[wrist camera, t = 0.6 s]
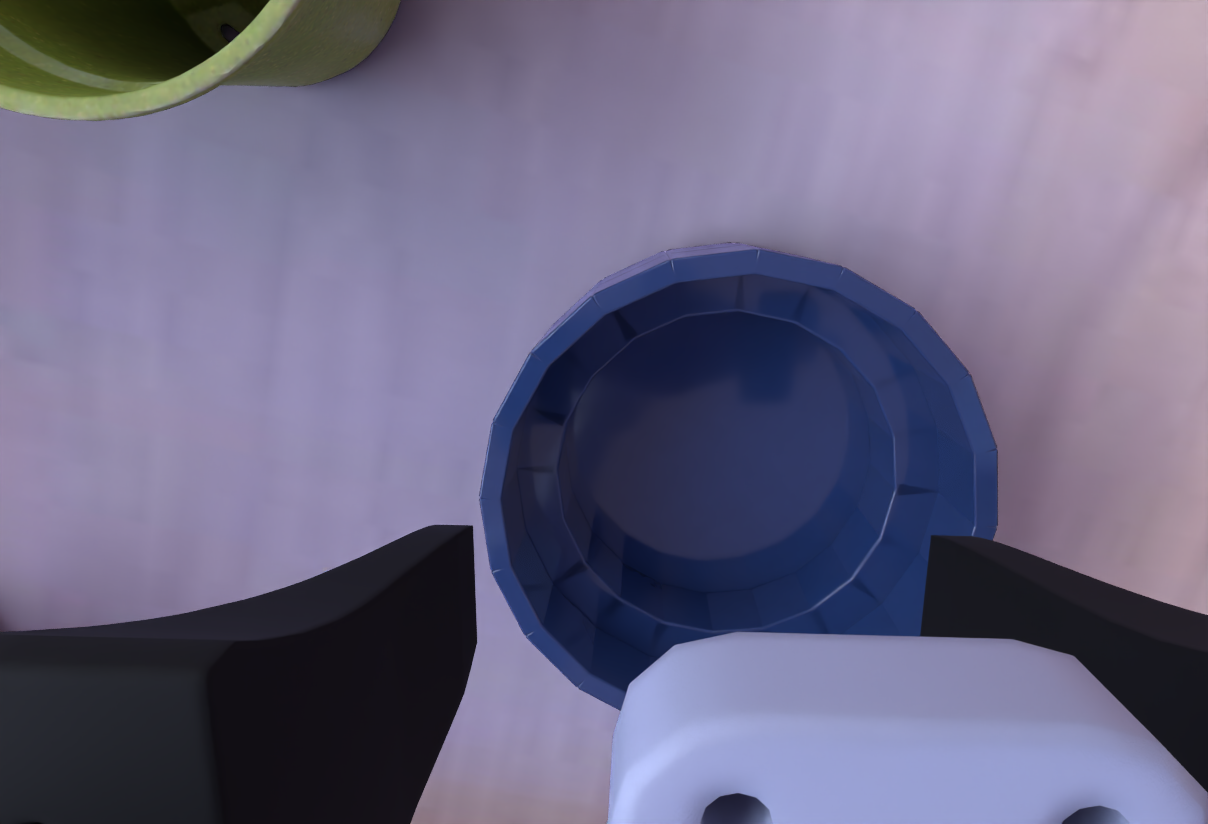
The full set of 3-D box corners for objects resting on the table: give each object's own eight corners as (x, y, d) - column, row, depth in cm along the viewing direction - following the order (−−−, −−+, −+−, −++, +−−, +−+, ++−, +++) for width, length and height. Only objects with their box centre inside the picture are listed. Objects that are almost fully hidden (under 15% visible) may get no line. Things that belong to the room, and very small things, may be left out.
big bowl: (855, 662, 23) (911, 778, 18) (487, 586, 23) (446, 683, 18) (971, 291, 21) (1072, 313, 16) (555, 204, 21) (529, 201, 16)
